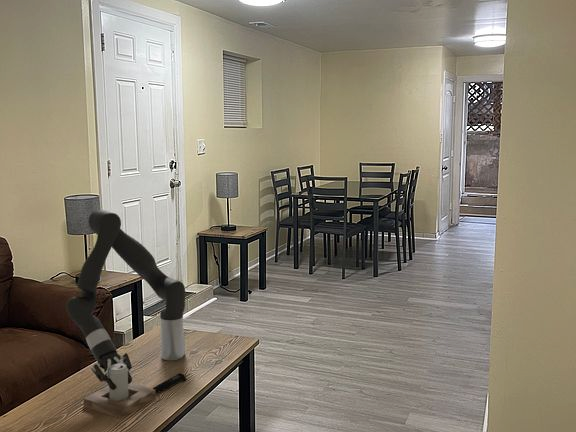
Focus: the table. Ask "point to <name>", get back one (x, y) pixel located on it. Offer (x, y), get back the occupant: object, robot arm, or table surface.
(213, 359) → the table surface
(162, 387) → the electric trimmer
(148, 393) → the hole board
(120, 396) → the beverage can
